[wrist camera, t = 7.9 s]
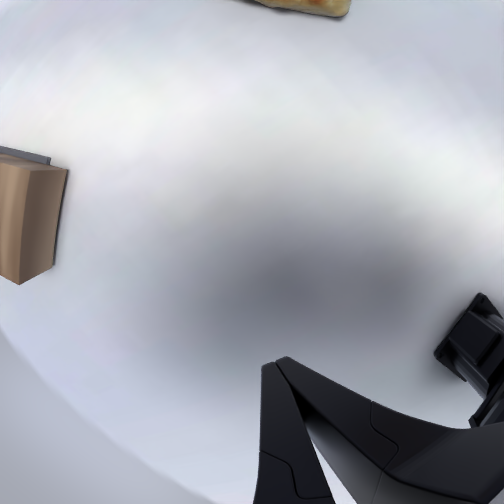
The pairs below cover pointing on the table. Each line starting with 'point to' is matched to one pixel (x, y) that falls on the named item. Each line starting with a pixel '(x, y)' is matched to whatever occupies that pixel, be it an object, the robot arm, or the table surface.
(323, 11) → the pastry
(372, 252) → the table surface
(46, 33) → the table surface
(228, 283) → the table surface
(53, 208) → the block
